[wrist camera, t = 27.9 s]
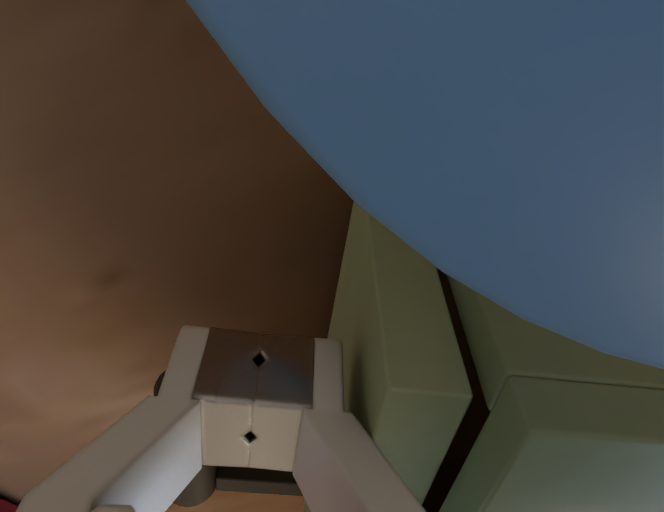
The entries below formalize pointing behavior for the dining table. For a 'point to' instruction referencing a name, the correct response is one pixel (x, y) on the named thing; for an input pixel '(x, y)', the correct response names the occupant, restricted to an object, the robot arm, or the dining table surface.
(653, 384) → the cabinet
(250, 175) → the dining table surface
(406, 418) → the drawer
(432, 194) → the bottle
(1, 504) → the kitchen canister
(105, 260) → the dining table surface
